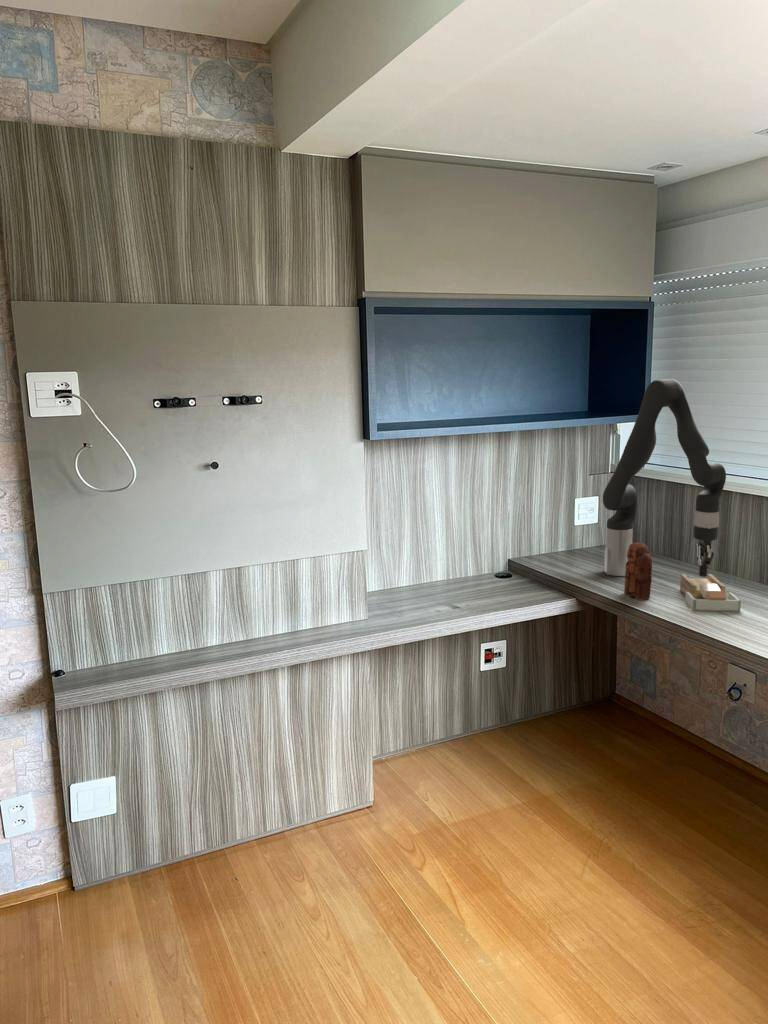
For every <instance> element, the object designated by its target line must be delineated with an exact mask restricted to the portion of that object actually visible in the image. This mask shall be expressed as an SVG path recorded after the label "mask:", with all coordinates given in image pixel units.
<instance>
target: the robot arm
mask: <svg viewBox="0 0 768 1024" xmlns="http://www.w3.org/2000/svg"><path fill="white" fill-rule="evenodd" d="M642 398H643V399H642V400H641V403H640V404H641V405H640V408H639V411H638V414H637V417H636V420H635V422H634V425H633V427H632V431H631V432H630V435H629V437H628V439H627V442H626V443H625V447H624V449H623V451H622V454H621V457H620V459H619V461H618V463H617V465H616V468H615V470H614V471H613V473H612V476H611V477H610V479H609V481H608V483H607V485H606V487H605V489H604V491H603V494H602V503H603V505H604V508H605V509H606V510H608V511H615V513H614V514H613V515H612V516H611V517H610V518H608V519H607V521H606V539H605V540H606V542H605V546H604V563H603V564H604V565H603V571H604V573H605V575H606V574H607V576H613V577H614V576H615V577H625V572H626V563H627V561H628V559H627V551H628V549H629V546H630V544H632V543H633V535H634V534H633V533H634V531H633V530H634V524H635V521H636V515H637V508H638V496H637V495H638V494H637V491H636V489H635V487H634V486H633V485H632V484H630V482H631V480H632V479H633V478H634V477H635V476H636V474H638V473H639V472H640V471H641V470H642V468H644V467H645V466H646V464H647V463H648V462H649V460H650V458H651V457H652V454H653V452H654V450H655V447H656V445H657V444H656V443H657V433H656V422H657V420H658V418H659V415H660V413H661V411H662V410H663V408H666V407H667V408H669V410H670V411H671V413H672V414H673V416H674V418H675V423H676V427H677V428H676V430H677V431H676V432H677V433H676V434H677V435H676V436H677V439H678V440H677V441H678V443H679V445H680V447H681V448H682V451H683V452H684V454H685V456H686V458H687V461H688V466H689V469H690V474H691V476H692V478H693V480H694V481H695V483H696V484H698V485H699V486H702V487H703V489H702V491H700V492H699V493H698V494H697V495H696V499H695V511H694V517H693V528H692V529H693V531H692V537H693V539H695V540H697V542H696V543H695V545H694V548H695V555H696V561H697V563H698V575H699V576H700V577H708V566H711V563H712V561H713V558H714V556H715V553H714V552H713V545H712V541H716V540H718V536H719V525H720V524H719V523H720V514H719V513H720V499H721V496H722V494H723V491H724V487H725V485H726V479H727V473H726V469H725V467H724V465H722V464H721V463H719V462H710V463H709V462H708V460H707V457H708V456H709V454H710V449H709V447H708V444H707V443H706V441H705V439H704V438H703V436H702V434H701V432H700V430H699V428H698V426H697V423H696V422H695V419H694V417H693V416H694V415H693V413H692V410H691V408H690V405H689V402H688V400H687V399H688V398H687V397H686V393H685V390H684V388H683V386H682V384H681V383H680V382H679V381H678V380H677V379H674V378H662V379H655V380H652V381H651V382H650V383H649V384H648V385H647V386H646V389H645V392H644V394H643V397H642Z"/></svg>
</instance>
